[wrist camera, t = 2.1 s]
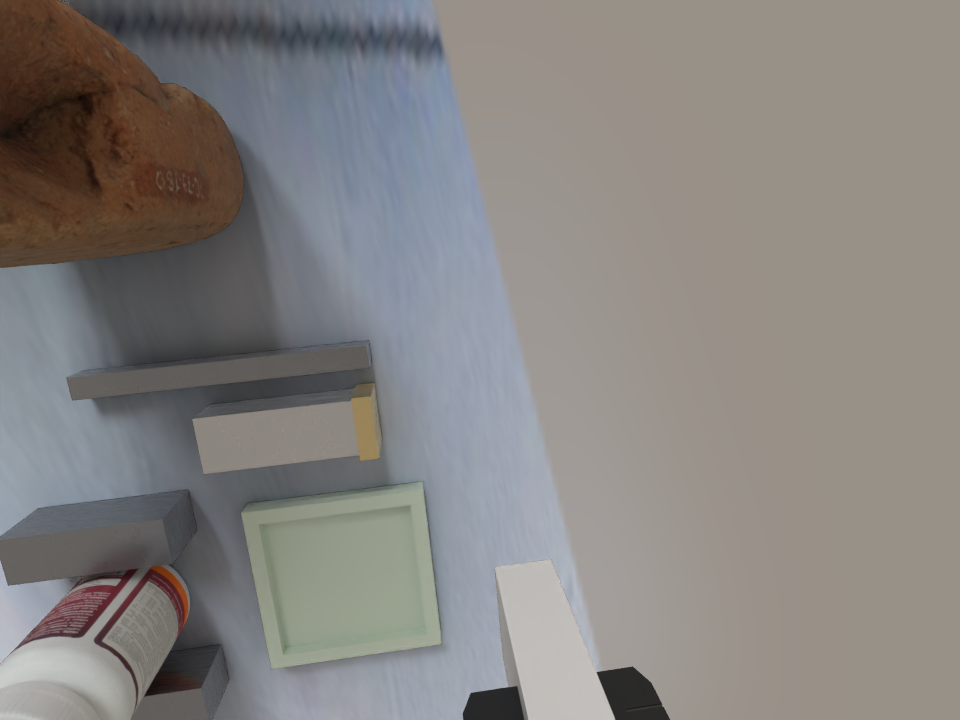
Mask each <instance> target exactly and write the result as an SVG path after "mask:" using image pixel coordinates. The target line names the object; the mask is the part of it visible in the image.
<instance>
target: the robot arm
mask: <svg viewBox="0 0 960 720" xmlns="http://www.w3.org/2000/svg"><path fill="white" fill-rule="evenodd" d="M495 578H496V588H497V599H498V610H499V620H500V631H501V641H502V652H503V660H504V665H505V670H506V675H507V680H508V686H509V687H507V688H501V689H494V690H487V691H481V692H474V693H471V694H470V697H469V699H468V702H467V704H466V707H465V710H464V712H463V720H670V719H669V717H668V715H667V713H666V711H665V709H664V707H662V703H661V701H660V699H659V697H658V695H657V693H656V691H655V690H654V688H653V685H652V683H651V682H650V681H649V680H647V679H646V678H645V677H644V676H643V675H642V674H641V673H639V672H638V671H637V670H636V669H635V668H634V667H628V668H621V669H614V670H608V671H601V672H596V670H595V668H594V665H593V663H592V660H591V658H590V655H589V653H588V650H587V648H586V645H585V643H584V640H583V638H582V635H581V633H580V630H579V628H578V625H577V623H576V620H575V618H574V615H573V613H572V610H571V608H570V605H569V603H568V600H567V598H566V595H565V593H564V590H563V588H562V585H561V583H560V580H559V578H558V575H557V573H556V570H555V568H554V565H553V563H552V560H551V559H550V560H542V561H535V562H528V563H520V564H513V565H506V566H498V567H495Z"/></svg>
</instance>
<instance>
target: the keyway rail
mask: <svg viewBox="0 0 960 720" xmlns="http://www.w3.org/2000/svg"><path fill="white" fill-rule="evenodd" d="M371 362H372V360H371V353H370V345H369V340H368V341H358V342H349V343H339V344H330V345H321V346H311V347H302V348H292V349H283V350H273V351H264V352H255V353H245V354H236V355H226V356H217V357H208V358H198V359H189V360H179V361H170V362H160V363H151V364H142V365H132V366H123V367H113V368H104V369H95V370H85V371H81V372H79V373H76V374H74V375H71V376H69V377H67V382H68V386H69V390H70V394H71V398H72V400H81V399H90V398H99V397H109V396H118V395H127V394H136V393H145V392H154V391H163V390H172V389H181V388H190V387H200V386H209V385H218V384H227V383H236V382H245V381H254V380H263V379H272V378H282V377H291V376H300V375H309V374H318V373H327V372H336V371H345V370H354V369H364V368H370V365H371Z"/></svg>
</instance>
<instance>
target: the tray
mask: <svg viewBox="0 0 960 720" xmlns="http://www.w3.org/2000/svg"><path fill="white" fill-rule="evenodd" d="M241 516H242V521H243V526H244V531H245V536H246V541H247V547H248V552H249V557H250V562H251V567H252V572H253V577H254V582H255V588H256V593H257V598H258V603H259V608H260V613H261V618H262V623H263V629H264V634H265V639H266V644H267V649H268V654H269V659H270V664H271V669H276V668H283V667H290V666H297V665H304V664H310V663H317V662H324V661H331V660H337V659H344V658H351V657H358V656H365V655H371V654H378V653H385V652H392V651H399V650H405V649H412V648H419V647H426V646H433V645H439V644H441V629H440V621H439V613H438V604H437V596H436V588H435V579H434V571H433V562H432V554H431V546H430V537H429V529H428V521H427V512H426V504H425V496H424V487H423V481H422V482H414V483H406V484H398V485H390V486H382V487H374V488H366V489H358V490H350V491H343V492H335V493H327V494H319V495H311V496H303V497H295V498H287V499H279V500H271V501H263V502H255V503H247V504H246V506H245V508H244V509H243V511H242V512H241Z"/></svg>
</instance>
